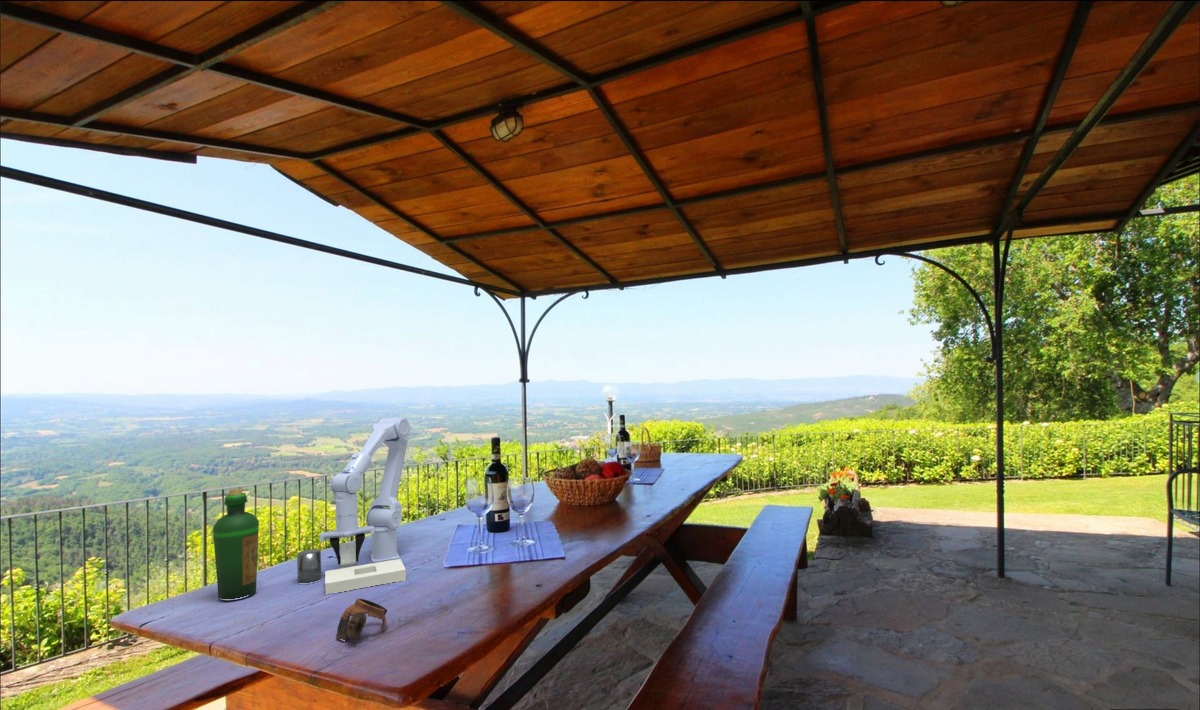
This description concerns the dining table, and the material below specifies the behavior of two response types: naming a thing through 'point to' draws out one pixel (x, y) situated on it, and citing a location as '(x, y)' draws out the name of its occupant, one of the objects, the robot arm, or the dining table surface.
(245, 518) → the bottle
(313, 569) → the round dark peg
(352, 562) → the square steel peg
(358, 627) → the brown curved piece
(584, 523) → the dining table surface
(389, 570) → the cream socket block
